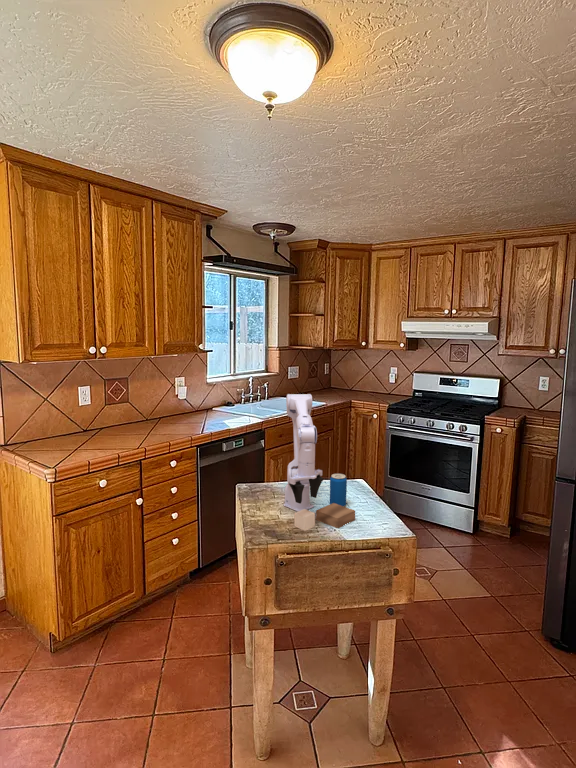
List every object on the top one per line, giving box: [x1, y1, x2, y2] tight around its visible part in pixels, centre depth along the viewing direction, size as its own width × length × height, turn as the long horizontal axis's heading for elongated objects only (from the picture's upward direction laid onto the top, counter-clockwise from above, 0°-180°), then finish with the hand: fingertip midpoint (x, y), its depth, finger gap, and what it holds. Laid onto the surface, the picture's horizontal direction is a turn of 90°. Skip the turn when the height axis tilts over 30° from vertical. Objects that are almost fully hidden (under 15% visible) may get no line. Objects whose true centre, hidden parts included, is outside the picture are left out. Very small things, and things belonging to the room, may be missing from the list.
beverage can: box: [329, 473, 348, 507], centre depth 176 cm, size 6×6×12 cm
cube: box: [294, 509, 316, 532], centre depth 158 cm, size 5×5×5 cm
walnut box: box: [315, 503, 356, 529], centre depth 163 cm, size 10×10×4 cm
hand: (306, 499), depth 157 cm, fingers open, 7 cm apart
